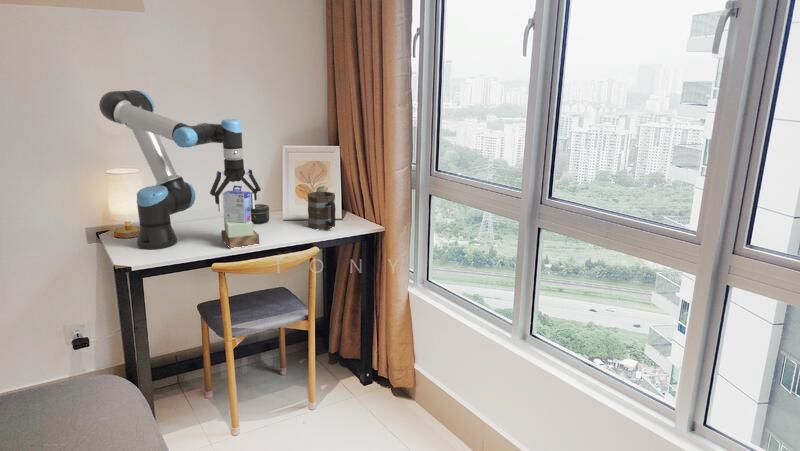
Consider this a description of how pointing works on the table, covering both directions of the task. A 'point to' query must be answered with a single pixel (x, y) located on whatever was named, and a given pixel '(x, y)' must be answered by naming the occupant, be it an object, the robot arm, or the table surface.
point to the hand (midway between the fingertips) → (236, 209)
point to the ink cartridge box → (237, 205)
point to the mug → (321, 210)
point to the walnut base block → (240, 240)
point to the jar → (260, 214)
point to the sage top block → (238, 228)
